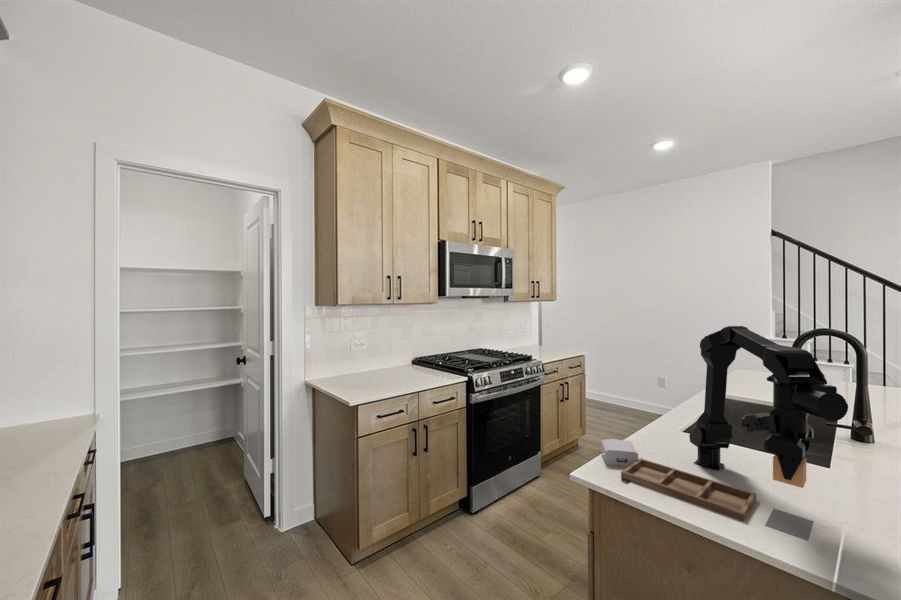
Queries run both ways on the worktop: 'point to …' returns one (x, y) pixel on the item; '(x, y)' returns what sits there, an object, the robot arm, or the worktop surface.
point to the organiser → (691, 488)
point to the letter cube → (797, 479)
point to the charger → (618, 452)
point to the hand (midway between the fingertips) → (789, 475)
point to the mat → (790, 524)
